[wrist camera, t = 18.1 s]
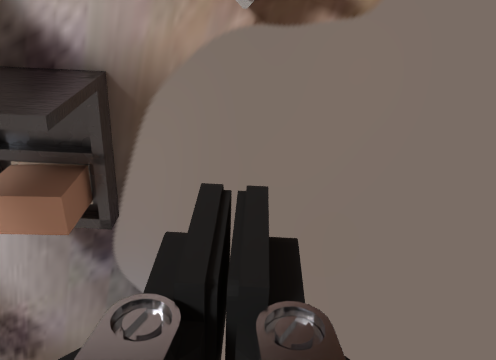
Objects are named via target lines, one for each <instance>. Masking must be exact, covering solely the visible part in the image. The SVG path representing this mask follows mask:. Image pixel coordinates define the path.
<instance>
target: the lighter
mask: <svg viewBox="0 0 496 360" xmlns="http://www.w3.org/2000/svg"><path fill="white" fill-rule="evenodd" d="M236 1H237V2H238V3H239V4H240V5H241V6H242V8H248V7H249V6H250V5H251V4H252V3H253V2H254V0H236Z"/></svg>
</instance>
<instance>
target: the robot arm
mask: <svg viewBox="0 0 496 360" xmlns="http://www.w3.org/2000/svg"><path fill="white" fill-rule="evenodd" d="M223 188H224V187H223V185H222V184H205V183H202V184H201V187H200V190H199V194H198V197H197V201H196V205H195V208H194V212H193V215H192V219H191V223H190V226H189V230H188V233H181V232H180V233H179V232H166V233H165V235H164V237H163V240H162V243H161V246H160V248H159V251H158V254H157V257H156V259H155V262H154V265H153V268H152V271H151V273H150V276H149V279H148V282H147V284H146V287H145V290H144V293H143V294H138V295H132V296H129V297H127V298H124V299H121V300H120V301H118V302H117V303H115V304H113V305H112V306H111V307H110V308H109V309H108V310H107V311H106V312H105V314H104V315H103V317H102V318H101V320H100V321H99V323H98V324H97V326H96V327H95V329H94V330H93V332H92V333H91V335H90V336H89V338H88V339H87V341H86V342H85V344H84V345H83V347H81V348H79V349H77V350H75V351H74V352H72V353H70V354H68V355H66V356H64V357H62V358H60V359H58V360H221V354H222V344H223V335H224V327H225V318H226V348H225V360H350V359H348V358H347V357H346V356H344V353H343V351H342V348H341V345H340V343H339V340H338V338H337V335H336V332H335V330H334V327H333V325H332V323H331V322H330V320H329V318H328V317H327V316H326V315H325V314H324V313H323V312H322V311H320V310H319V309H317V308H315V307H313V306H311V305H309V304H305V299H304V290H303V282H302V272H301V264H300V255H299V246H298V239H297V238H280V237H269V211H268V187H265V186H247V190H246V191H238V195H237V204H236V213H235V221H234V230H233V239H232V248H231V256H230V229H231V190H224V189H223Z"/></svg>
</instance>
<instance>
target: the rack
mask: <svg viewBox="0 0 496 360" xmlns="http://www.w3.org/2000/svg"><path fill="white" fill-rule="evenodd" d="M10 165H61V166H87V167H88V173H89V180H90V186H91V192H92V198H93V201H92V202H91V204H90V205H89V206H88V208H87V209H86V211H85V212H84V214H83V215H82V217H81V218H80V219H79V221H78V222H77V224H76V225H75V228H96V229H112V227H113V225H114V224H115V222H116V220H117V218H118V217H119V211H118V200H117V189H116V179H115V168H114V157H113V146H112V136H111V125H110V114H109V104H108V93H107V82H106V72H105V71H84V70H62V69H41V68H19V67H0V173H1V172H2V171H4V170H5V169H6V168H7V167H8V166H10Z"/></svg>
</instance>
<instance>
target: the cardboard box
mask: <svg viewBox="0 0 496 360" xmlns="http://www.w3.org/2000/svg"><path fill="white" fill-rule="evenodd" d="M92 201H93V198H92V192H91V186H90V180H89V173H88V167H87V166H61V165H10V166H8V167H7V168H6V169H5V170H4V171H2V172H1V173H0V234H38V235H69V234H70V232H71V231H72V229H73V228H74V227H75V225H76V224H77V222H78V221H79V219H80V218H81V217H82V215H83V214H84V212H85V211H86V209H87V208H88V206H89V205H90V204H91V202H92Z"/></svg>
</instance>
